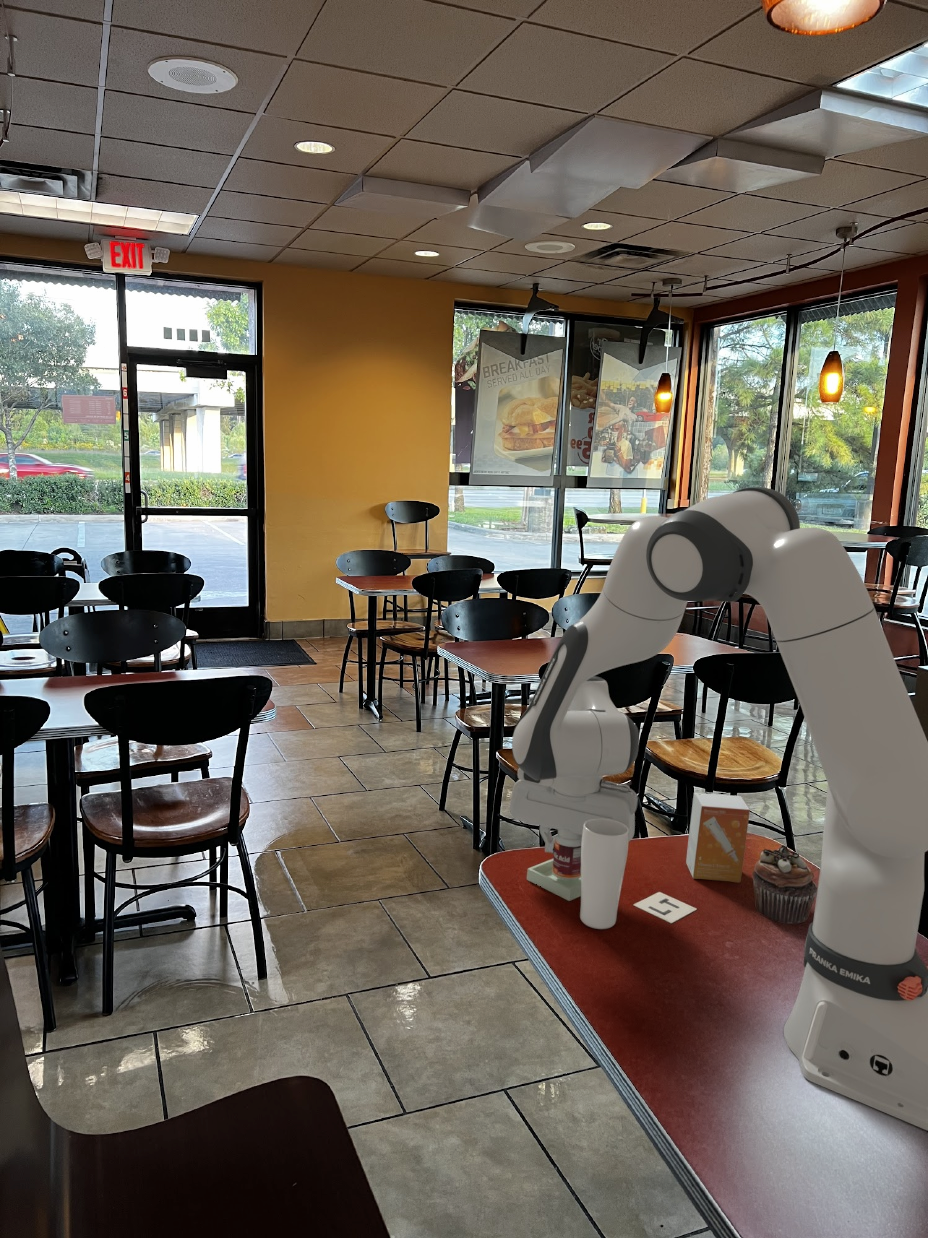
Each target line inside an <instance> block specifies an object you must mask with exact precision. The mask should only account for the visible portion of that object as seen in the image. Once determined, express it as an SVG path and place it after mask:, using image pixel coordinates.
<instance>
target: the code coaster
mask: <svg viewBox="0 0 928 1238" xmlns="http://www.w3.org/2000/svg"><path fill="white" fill-rule="evenodd" d="M632 905H633V906H634V907H636V908H637V909H640V910H642V911H643V912H646V913H649V914H651V915H652V916H655V917H657V918H659V919H661V920H664V921H665V922H667V923H669V924H673V923H675V922H677V921H679V920H681V919H682V918H684V917H686V916H688V915H690V914H692V913H694V912H695V911H697V910H698V908H696V907H693V906H691V905H690V904H687V903H685V902H683V901H681V900H678V899H676V898H674V897H673V896H670V895H667V894H665V893H663V892H661V891H658V892H656V893H654V894H652V895H650V896H647V898H644V899H642V900H640V901H638V902H635V903H634V904H632Z"/></svg>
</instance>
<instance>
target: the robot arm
mask: <svg viewBox="0 0 928 1238" xmlns="http://www.w3.org/2000/svg"><path fill="white" fill-rule="evenodd" d="M744 594H746V595H749V596H750V597H752V598H753V599H754V600H755V601H757V603H759V605H760V606H761V608H762V609H763V611H764V614H765V615H766V618H767V621H768V623H769V626H770V628H771V632H772V635H773V637H774V639H775V642H776V644H777V647H778V650H779V653H780V655H781V658H782V661H783V663H784V665H785V668H786V670H787V673H788V676H789V679H790V681H791V684H792V686H793V688H794V692H795V694H796V697H797V700H798V702H799V705H800V707H801V710H802V714H803V717H804V719H805V722H806V725H807V728H808V731H809V734H810V737H811V739H812V742H813V745H814V748H815V752H816V754H817V756H818V759H819V763H820V765H821V768H822V771H823V773H824V776H825V779H826V782H827V789H826V799H825V811H824V822H823V833H822V834H823V835H822V845H821V846H822V847H821V858H820V859H821V860H820V867H819V869H820V870H819V877H818V883H817V894H816V896H815V905H814V914H813V921H812V922H811V923H810V924H809V926H808V929H807V934H806V939H805V943H804V944H805V945H804V949H803V950H804V951H803V954H804V955H803V956H804V957H803V966H804V973H803V976H802V980H801V984H800V988H799V991H798V994H797V996H796V1000H795V1003H794V1004H793V1008H792V1010H791V1012H790V1015H789V1016H788V1018H787V1020H786V1022H785V1024H784V1027H783V1037H784V1039H785V1043H786V1044H787V1046H788V1047H789V1049H790V1050H791V1051H792V1053H793V1054H794V1055H795V1056H796V1058H797V1060H798V1061H799V1065H800V1070H801V1073H802V1075H803V1076H804V1077H805V1079H807V1080H808V1081H809V1082H811V1083H814V1084H816V1085H819V1086H821V1087H823V1088H826V1089H828V1090H831V1091H833V1092H835V1093H838V1094H839V1095H842V1096H844V1097H847V1098H850V1099H852V1100H854V1101H856V1102H859V1103H861V1104H864V1105H867V1106H869V1107H871V1108H873V1109H876V1110H878V1111H880V1112H883V1113H885V1114H887V1115H890V1116H892V1117H893V1118H897V1119H899V1120H901V1121H904V1122H906V1123H908V1124H911V1125H914V1126H916V1127H918V1128H920V1129H923V1130H925V1131H926V1132H927V1131H928V965H927V966H926V964H925V963H924V962H923V960H922V959H921V957H920V956H919V954H918V951H917V948H916V942H917V937H918V932H919V931H918V930H919V925H920V919H921V912H922V911H921V910H922V907H923V906H922V905H923V900H924V892H925V853H926V852H928V740H927V737H926V734H925V732H924V730H923V727H922V725H921V722H920V719H919V717H918V714H917V712H916V710H915V707H914V705H913V702H912V700H911V698H910V695H909V693H908V690H907V688H906V685H905V683H904V681H903V678H902V676H901V674H900V671H899V668H898V666H897V663H896V660H895V657H894V655H893V652H892V651H891V647H890V645H889V644H890V643H889V642H888V640H887V637H886V634H885V632H884V629H883V626H882V624H881V621H880V617H879V615H878V612H877V611H876V608H875V606H874V603H873V600H872V598H871V596H870V593H869V592H868V589H867V587H866V584H865V582H864V580H863V578H862V576H861V574H860V573H859V571H858V569H857V567H856V565H855V563H854V562H853V559H852V558H851V557H850V555H849V553H848V551H847V550H846V549H845V547H844V546H843V544H842V543H841V541H840V540H839V538H838V537H837V536H836V535H834V533H832V532H830V531H829V530H827V529H823V528H819V527H818V528H817V527H801V522H800V518H799V515H798V512H797V509H796V508H795V506H794V504H793V502H791V500H790V499H788V497H786V495H784V494H783V493H781V492H779V491H778V490H775V489H772V488H769V487H768V488H767V487H759V486H756V487H755V486H754V487H753V486H752V487H744V488H741V489H738V490H734V491H733V492H731V493H726V494H723V495H719V496H712V497H708V498H706V499H704V500H701V501H699V502H697V503H695V504H693V505H691V506H689V507H688V508H686V509H684V510H680V511H677V512H675V513H674V514H672V515H670V516H669V517H667V516H660V515H655V516H654V515H653V516H652V515H651V516H646V517H642V518H640V519H637V520H636V521H634V522H633V523H632V524H631V525H630V526H629V527H628V528H627V530H625V533H624V535H623V536H622V538H621V540H620V542H619V545H618V547H617V549H616V551H615V553H614V555H613V557H612V559H611V563H610V565H609V568H608V571H607V573H606V577H605V579H604V583H603V587H602V589H601V592H600V594H599V596H598V597H597V600H596V601H595V603H594V604H593V605H592V606H591V608H590V609H589V610H588V611H587V612H586V614H585V615H584V616H582V617H581V618H580V619H579V620H578V621H576V622H574V623H573V624H571V625H569V626H568V627H567V628H566V630H565V631H564V633H563V635H562V636H561V638H560V640H559V642H558V643H557V646H556V647H555V650H554V652H553V654H552V656H551V658H550V660H549V662H548V664H547V666H546V668H545V671H544V673H543V675H542V677H541V679H540V682H539V683H538V686H537V687H536V690H535V693H534V694H533V697H532V699H531V701H530V703H529V705H528V706H527V708H526V709H525V711H524V712H523V714H522V715H521V717H520V718H519V719H518V721H517V722H516V725H515V727H514V730H513V733H512V741H511V750H512V757H513V762H514V763H515V764H516V765H517V767H518V769H517V778H518V779H517V781H516V782H514V785H513V787H512V791H511V796H510V801H509V814H510V815H511V817H512V818H513V820H517V821H519V822H520V821H521V822H525V823H530V824H533V825H537V826H539V833H540V835H541V837H542V839H543V841H544V843H545V845H544V853H549V854H553V855H554V846H555V838H554V837H553V836H552V833H551V829H555V830H557V831H558V830H562V829H565V830H569V831H572V832H573V833H574V834H578V835H582V832H583V825H584V823H585V822H586V821H588V820H590V819H596V818H604V819H611V820H615V821H618V822H621V823H623V824H624V825H626V826H627V827H628V829H629V841H628V843H629V842H630V841H632V839H633V838H634V835H635V831H636V830H635V828H636V827H635V826H636V821H635V820H636V816H635V813H636V811H637V808H638V800H639V799H638V795H637V793H636V792H635V790H633V789H632V788H630V785H628V784H623V783H622V784H620V783H616V782H613V781H609V780H604V779H603V778H604V777H603V776H616V775H621V774H624V773H626V772H627V771H628V770H629V769H630V768H631V767H632V766H633V764H634V763H635V761H636V759H637V758H638V754H639V753H638V752H639V747H640V734H639V728H638V726H637V725H636V723H635V722H634V721H633V720H632V719H631V718H630V717H629V716H628V715H627V714H626V713H624V712H622V711H619V709H618V708H617V707H616V706H615V704H614V702H613V701H612V699H611V697H610V693H609V685H608V682H607V680H605V679H604V678H602V677H599V676H597V675H599V674H601V673H604V672H608V671H610V670H612V669H616V668H619V667H623V666H626V665H627V666H628V665H630V664H635V663H639V662H643V661H645V660H648V659H650V658H653V657H654V656H657V655H658V654H660V653H661V652H663V651H664V650H665V649H666V648H667V647H668V646H669V644H670V643H671V642H672V641H673V639H674V637H675V636H676V634H677V632H678V631H679V627H680V625H681V622H682V620H683V617H684V614H685V611H686V607H687V604H688V602H711V601H712V602H713V601H715V602H723V603H724V602H726V603H727V602H728V603H729V602H730V603H734V602H737V601H738V600H740V599H741V597H742V596H743V595H744ZM580 860H581V858H580Z"/></svg>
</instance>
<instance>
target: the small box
mask: <svg viewBox="0 0 928 1238" xmlns="http://www.w3.org/2000/svg"><path fill="white" fill-rule="evenodd" d="M691 805H692V807H691V815H690V824H689V831H688V832H689V833H688V839H687V840H688V842H687V852H686V860H685V861H686V862H685V863H686V865H687V868H688V870H689V872H690V875H691V877H692V879H693V880H694V879H696V880H697V879H698V880H709V881H711V880H712V881H722V882H733V883H741V881H742V875H743V874H742V873H743V868H744V867H743V866H744V858H745V851H746V844H747V834H748V828H749V827H748V826H749V819H750V813H751V809H750V808H749V807H748V805H747V804H746V801H745V800H744V798H743V797H742V796H741V795H731V794H721V793H720V794H719V793H703V792H701V793H700V792H693V798H692V804H691Z"/></svg>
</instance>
